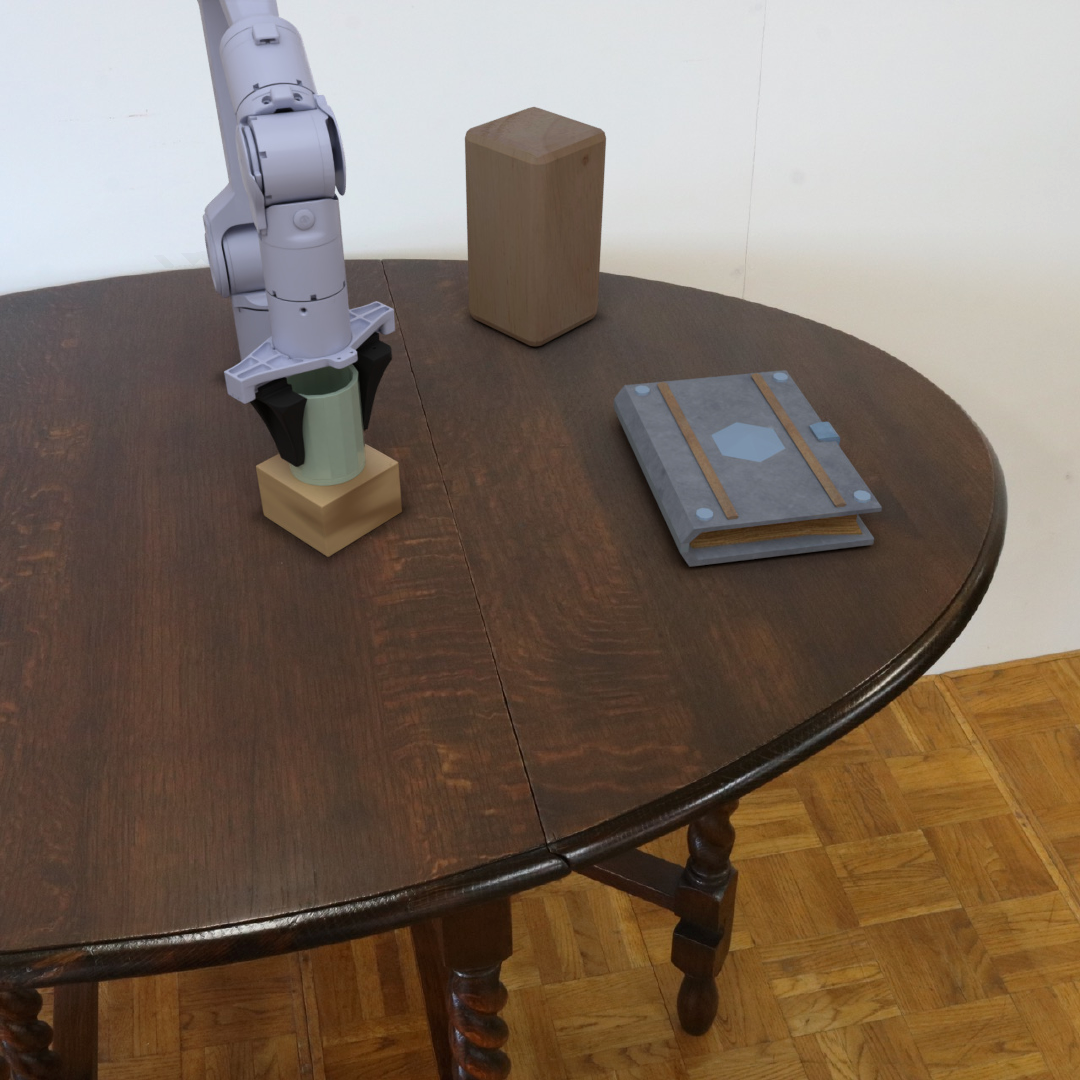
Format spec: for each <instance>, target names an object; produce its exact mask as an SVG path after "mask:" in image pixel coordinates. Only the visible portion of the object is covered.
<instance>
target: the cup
mask: <svg viewBox="0 0 1080 1080" xmlns="http://www.w3.org/2000/svg"><path fill="white" fill-rule="evenodd" d="M287 383H288V384H291V385H292V390H293V391H294V392H296V393H298V394H300V395H301V396H303V397H305V398H307V402H306V406H305V410H304V416H303V440H304V449H305V460H304V464H302V465H301V466H299V467H295V466H294V465H292V464H290V463H289V462H288V463H289V467H290V471H291V473H292V475H293V476H294V477H295V478H297V479H298V480H300V481H302V482H304V483H307V484H310V485H317V486H331V485H337V484H341V483H344V482H347V481H349V480H351V479H353V478H355V477H356V476H358V475H359V474H360V473H361V472H362V471H363V469H364V467H365V465H366V450H365V444H366V441H365V431H364V428H363V417H362V407H361V396H360V385H359V374H358V371H357V370H356V368H355V367H354V365H353V364H350V365H348V366H346V367H344V368H342V369H336V368H334V367H332V366H328V367H323V368H319V369H315V370H311V371H307V372H303V373H299V374H295V375H292V376H290V377H287Z"/></svg>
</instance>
